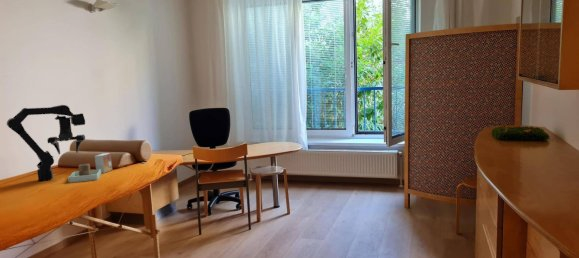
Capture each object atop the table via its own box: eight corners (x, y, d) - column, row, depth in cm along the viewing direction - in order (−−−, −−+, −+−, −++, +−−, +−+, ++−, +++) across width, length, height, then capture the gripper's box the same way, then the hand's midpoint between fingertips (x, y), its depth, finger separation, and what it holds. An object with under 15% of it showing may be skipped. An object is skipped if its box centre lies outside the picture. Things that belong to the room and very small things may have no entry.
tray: (68, 182, 231) (68, 177, 230) (74, 176, 244) (73, 171, 244) (97, 179, 235) (97, 174, 234) (101, 174, 248) (100, 169, 248)
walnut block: (79, 178, 236) (78, 166, 235) (81, 176, 241) (80, 164, 240) (89, 177, 238) (88, 165, 237) (90, 175, 242) (89, 163, 241)
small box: (104, 173, 251) (102, 155, 250) (96, 173, 252) (94, 155, 251) (112, 170, 259) (111, 153, 258) (104, 170, 260) (102, 153, 259)
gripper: (43, 129, 235) (46, 157, 237) (80, 127, 240) (83, 154, 242) (48, 127, 245) (51, 154, 247) (84, 125, 251) (86, 151, 253)
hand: (68, 153), depth 247 cm, fingers open, 9 cm apart
